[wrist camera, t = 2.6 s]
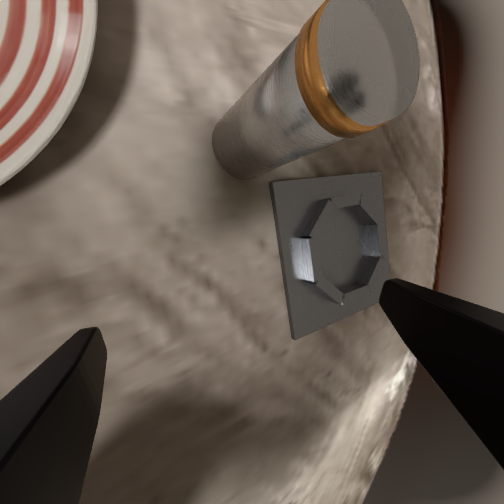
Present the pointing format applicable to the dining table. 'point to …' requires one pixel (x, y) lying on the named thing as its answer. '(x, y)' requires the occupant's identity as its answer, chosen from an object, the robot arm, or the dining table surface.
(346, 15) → the grey cylindrical piece
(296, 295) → the flange
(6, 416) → the robot arm
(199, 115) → the dining table surface
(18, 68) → the dinner plate
